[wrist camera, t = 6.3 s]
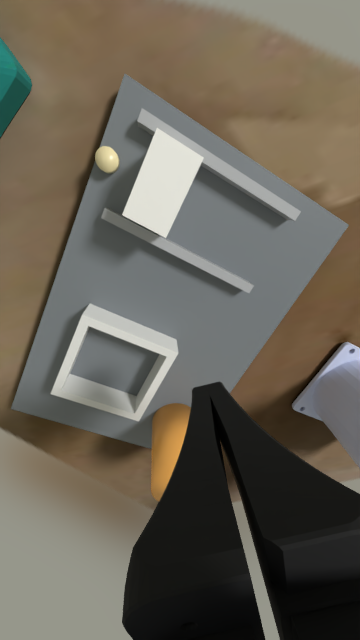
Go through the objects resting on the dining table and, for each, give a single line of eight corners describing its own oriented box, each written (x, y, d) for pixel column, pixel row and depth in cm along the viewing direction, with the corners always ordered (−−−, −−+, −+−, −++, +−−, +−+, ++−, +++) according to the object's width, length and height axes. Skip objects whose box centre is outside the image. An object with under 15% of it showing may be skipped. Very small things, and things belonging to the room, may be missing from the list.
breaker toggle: (194, 167, 15) (203, 157, 12) (164, 232, 16) (165, 238, 13) (156, 143, 14) (157, 127, 11) (128, 213, 15) (121, 215, 13)
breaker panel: (337, 223, 18) (371, 227, 15) (182, 447, 26) (185, 478, 23) (127, 83, 14) (119, 51, 11) (18, 398, 22) (-4, 428, 19)
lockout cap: (204, 411, 23) (220, 476, 17) (183, 441, 24) (192, 510, 19) (164, 397, 22) (167, 461, 16) (144, 429, 23) (141, 499, 18)
